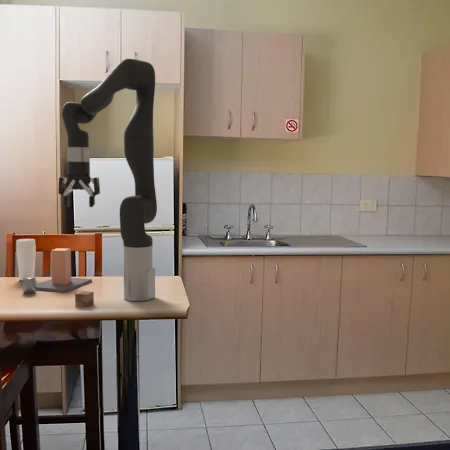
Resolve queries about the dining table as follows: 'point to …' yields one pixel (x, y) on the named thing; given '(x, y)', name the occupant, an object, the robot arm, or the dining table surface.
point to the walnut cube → (84, 299)
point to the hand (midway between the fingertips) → (79, 206)
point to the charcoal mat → (62, 285)
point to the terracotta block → (61, 266)
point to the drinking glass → (26, 257)
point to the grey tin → (29, 285)
